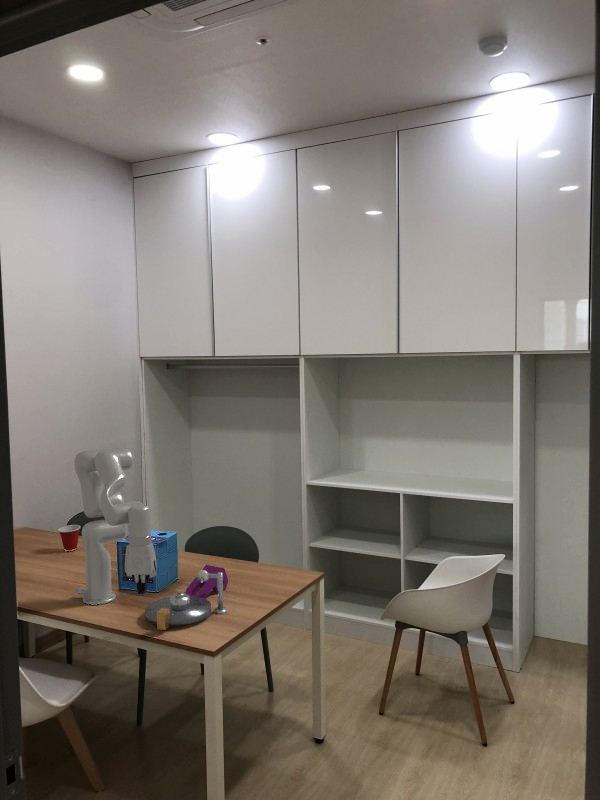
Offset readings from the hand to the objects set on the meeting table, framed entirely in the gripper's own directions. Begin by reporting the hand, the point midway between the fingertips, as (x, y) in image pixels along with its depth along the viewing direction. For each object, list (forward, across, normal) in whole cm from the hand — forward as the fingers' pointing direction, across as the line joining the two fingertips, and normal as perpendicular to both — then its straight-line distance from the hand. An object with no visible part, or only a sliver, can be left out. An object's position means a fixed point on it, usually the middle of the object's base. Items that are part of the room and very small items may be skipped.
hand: (142, 592), depth 225 cm
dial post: (+13, +18, +21) cm, 31 cm away
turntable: (+12, +7, +12) cm, 19 cm away
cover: (+10, +8, +14) cm, 19 cm away
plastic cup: (+11, -80, +85) cm, 117 cm away
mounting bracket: (+13, +9, +38) cm, 41 cm away
